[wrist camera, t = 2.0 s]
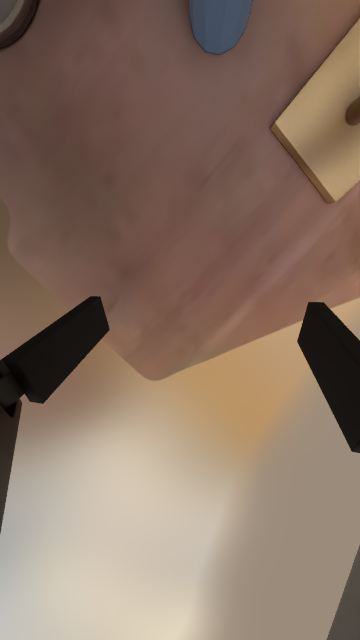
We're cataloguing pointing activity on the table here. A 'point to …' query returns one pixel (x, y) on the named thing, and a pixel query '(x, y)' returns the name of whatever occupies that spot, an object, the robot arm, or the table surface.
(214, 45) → the blue hollow tube
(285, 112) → the stand
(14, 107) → the table surface
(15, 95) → the table surface
